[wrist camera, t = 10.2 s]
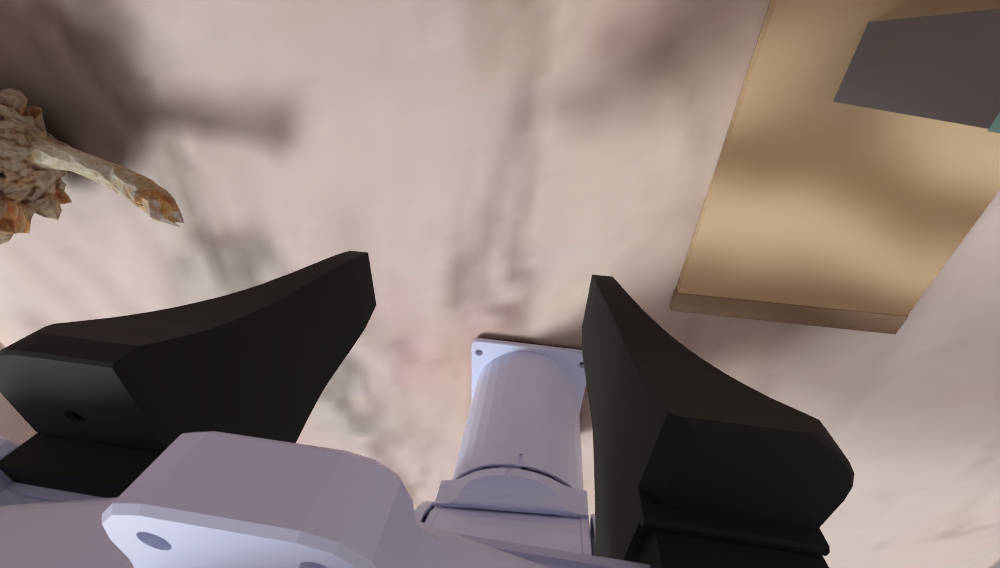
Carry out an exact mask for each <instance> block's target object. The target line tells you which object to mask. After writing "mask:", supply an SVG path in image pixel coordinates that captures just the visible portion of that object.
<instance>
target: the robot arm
mask: <svg viewBox="0 0 1000 568" xmlns="http://www.w3.org/2000/svg"><path fill="white" fill-rule="evenodd" d="M375 306H376V300H375V294H374V288H373V281H372V275H371V269H370V262H369V256H368V253H367V252H357V251H348V252H344V253H341V254H338V255H335V256H333V257H330V258H327V259H325V260H322V261H320V262H317V263H315V264H313V265H310V266H308V267H305V268H303V269H300V270H298V271H295V272H293V273H290V274H288V275H285V276H282V277H280V278H277V279H274V280H272V281H269V282H266V283H264V284H261V285H258V286H255V287H252V288H249V289H246V290H243V291H239V292H236V293H232V294H229V295H225V296H222V297H218V298H214V299H210V300H205V301H201V302H197V303H192V304H188V305H184V306H179V307H174V308H169V309H164V310H158V311H153V312H147V313H140V314H134V315H128V316H120V317H113V318H104V319H95V320H86V321H77V322H68V323H57V324H52V325H49V326H46V327H44V328H42V329H40V330H38V331H36V332H34V333H32V334H30V335H28V336H26V337H25V338H23V339H21V340H19V341H17V342H15V343H13V344H11V345H10V346H8V347H6V348H4V349H2V350H1V351H0V392H1V394H2V395H3V396H4V397H5V398H6V399H7V400H8V401H9V402H10V404H11V405H12V406H13V407H14V408H15V409H16V410H17V411H18V412H19V413H20V415H22V417H23V418H24V419H25V420H26V421H27V422H28V423H29V424H30V425H31V427H33V429H34V430H35V431H36V432H38V433H37V434H36V435H34V436H33V437H31V438H30V439H29V440H27V441H26V442H25V443H23V444H22V445H21V444H19V443H17V442H15V441H14V440H12V439H9V438H5V437H1V436H0V568H829V567H828V565H827V563H826V561H825V559H824V558H823V556H822V555H824V556H827V555H828V554H829V553H830V549H829V545H828V543H827V541H826V539H825V538H824V536H823V534H822V532H821V530H820V529H819V527H820V526H821V525H822V524H823V523H824V522H825V521H826V520H827V519H828V517H829V516H830V515H831V514H832V513H833V512H834V511H835V510H836V509H837V508H838V507H839V505H840V504H841V503H842V502H843V501H844V500H845V498H846V496H847V495H848V493H849V492H850V490H851V488H852V486H853V480H854V472H853V469H852V467H851V465H850V462H849V461H848V459H847V458H846V456H845V455H844V454H843V452H842V451H841V449H840V448H839V447H838V445H837V444H836V442H835V441H834V440H833V438H832V437H831V435H830V434H829V433H828V431H827V430H826V428H825V427H824V426H823V424H822V423H821V422H820V420H818V419H816V418H814V417H812V416H809V415H807V414H805V413H803V412H800V411H798V410H796V409H794V408H792V407H789V406H787V405H785V404H783V403H781V402H778V401H776V400H774V399H772V398H770V397H768V396H766V395H764V394H762V393H760V392H758V391H756V390H754V389H752V388H750V387H748V386H746V385H745V384H743V383H741V382H739V381H737V380H736V379H734V378H732V377H730V376H729V375H727V374H725V373H723V372H722V371H720V370H719V369H717V368H715V367H714V366H712V365H711V364H709V363H708V362H706V361H704V360H703V359H701V358H700V357H698V356H697V355H696V354H694V353H693V352H691V351H690V350H689V349H687V348H686V347H685V346H683V345H682V344H681V343H679V342H678V341H677V340H675V339H674V338H673V337H672V336H671V335H669V334H668V333H667V332H666V331H665V330H664V329H662V328H661V327H660V326H659V325H658V324H657V323H656V322H655V321H654V320H652V319H651V318H650V317H649V316H648V315H647V314H646V313H645V312H644V311H643V310H642V309H641V308H640V307H639V305H638V304H637V303H636V302H635V301H634V300H633V299H632V298H631V297H630V296H629V295H628V293H627V292H626V291H625V290H624V289H623V288H622V287H621V286H620V284H619V283H618V282H617V281H616V280H615V279H614V278H613V277H610V276H600V275H592V278H591V283H590V289H589V294H588V299H587V304H586V310H585V315H584V320H583V325H582V350H577V349H569V348H560V347H552V346H543V345H535V344H526V343H518V342H509V341H501V340H492V339H483V338H476V339H475V340H474V341H473V343H472V404H471V408H470V412H469V416H468V420H467V424H466V428H465V432H464V436H463V440H462V444H461V447H460V451H459V455H458V459H457V463H456V467H455V471H454V475H453V479H452V480H443V481H441V484H440V487H439V491H438V494H437V498H436V502H433V501H425V502H423V503H421V504H420V505H419V506H418V507H417V508H416V509H415V511H414V508H413V501H412V499H411V497H410V495H409V493H408V491H407V490H406V488H405V486H404V484H403V483H402V481H401V479H400V477H399V476H398V475H397V474H395V473H394V472H392V471H391V470H389V469H388V468H387V467H385V466H384V465H382V464H381V463H379V462H378V461H376V460H374V459H371V458H368V457H364V456H361V455H358V454H355V453H352V452H348V451H344V450H337V449H330V448H323V447H317V446H310V445H303V444H297V443H296V441H297V439H298V437H299V435H300V433H301V431H302V429H303V427H304V425H305V423H306V421H307V419H308V417H309V415H310V414H311V412H312V410H313V408H314V406H315V404H316V402H317V401H318V399H319V397H320V395H321V393H322V391H323V390H324V388H325V387H326V385H327V383H328V382H329V380H330V379H331V377H332V376H333V375H334V373H335V372H336V370H337V369H338V367H339V366H340V364H341V363H342V362H343V360H344V359H345V357H346V356H347V354H348V353H349V351H350V350H351V349H352V347H353V346H354V344H355V343H356V341H357V340H358V338H359V337H360V335H361V334H362V332H363V331H364V329H365V327H366V325H367V323H368V321H369V319H370V317H371V315H372V313H373V311H374V308H375ZM477 350H481V351H482V352H479V351H477ZM581 362H583V363H584V364H580V363H581ZM586 383H587V390H588V396H589V403H590V410H591V417H592V427H593V447H594V478H595V514H591V520H590V527H589V519H588V501H587V491H585V490H583V473H582V454H581V436H580V418H579V414H580V409H581V405H582V400H583V396H584V391H585V387H586Z"/></svg>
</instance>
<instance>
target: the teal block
mask: <svg viewBox="0 0 1000 568" xmlns="http://www.w3.org/2000/svg"><path fill="white" fill-rule="evenodd" d="M833 102H837V103H843V104H849V105H855V106H860V107H866V108H872V109H877V110H883V111H889V112H895V113H900V114H906V115H912V116H917V117H923V118H929V119H935V120H940V121H946V122H952V123H957V124H963V125H969V126H974V127H980V128H986V129H988V131H989V132H995V133H1000V9H991V10H981V11H971V12H961V13H952V14H942V15H932V16H922V17H913V18H903V19H893V20H883V21H874V22H868V24H867V26H866V29H865V31H864V33H863V35H862V38H861V40H860V42H859V44H858V47H857V49H856V51H855V53H854V55H853V58H852V60H851V62H850V64H849V67H848V69H847V71H846V73H845V76H844V78H843V80H842V82H841V84H840V87H839V89H838V91H837V93H836V96H835V98H834V100H833Z"/></svg>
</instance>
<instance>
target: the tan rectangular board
mask: <svg viewBox="0 0 1000 568" xmlns="http://www.w3.org/2000/svg"><path fill="white" fill-rule="evenodd" d="M991 9H1000V0H771V3H770V6H769V9H768V12H767V15H766V18H765V21H764V24H763V27H762V30H761V33H760V36H759V39H758V42H757V45H756V48H755V51H754V54H753V57H752V60H751V63H750V66H749V69H748V72H747V75H746V78H745V81H744V84H743V87H742V90H741V93H740V96H739V99H738V103H737V106H736V109H735V112H734V115H733V118H732V121H731V124H730V127H729V130H728V133H727V136H726V139H725V142H724V145H723V148H722V151H721V154H720V157H719V160H718V163H717V166H716V169H715V172H714V175H713V178H712V181H711V184H710V187H709V190H708V193H707V196H706V199H705V202H704V206H703V209H702V212H701V215H700V218H699V221H698V224H697V227H696V230H695V233H694V236H693V239H692V242H691V245H690V248H689V251H688V254H687V257H686V260H685V263H684V266H683V269H682V272H681V275H680V278H679V281H678V284H677V287H676V289H675V291H674V294H673V297H672V300H671V303H670V308H671V310H672V311H680V312H689V313H699V314H708V315H718V316H727V317H737V318H746V319H756V320H765V321H775V322H784V323H794V324H803V325H813V326H822V327H832V328H841V329H851V330H860V331H870V332H879V333H889V334H896V333H897V331H898V330H899V329H900V327H901V326H902V324H903V323H904V322H905V320H906V319H907V318H908V316H907V315H908V314H909V312H910V311H911V310H912V308H913V307H914V306H915V304H916V303H917V301H918V300H919V299H920V297H921V296H922V295H923V293H924V292H925V291H926V289H927V288H928V286H929V285H930V284H931V282H932V281H933V280H934V278H935V277H936V276H937V274H938V273H939V271H940V270H941V269H942V267H943V266H944V265H945V263H946V262H947V261H948V259H949V258H950V256H951V255H952V254H953V252H954V251H955V250H956V248H957V247H958V246H959V244H960V243H961V241H962V240H963V239H964V237H965V236H966V235H967V233H968V232H969V231H970V229H971V228H972V226H973V225H974V224H975V222H976V221H977V220H978V218H979V217H980V216H981V214H982V213H983V212H984V210H985V209H986V207H987V206H988V205H989V203H990V202H991V201H992V199H993V198H994V197H995V195H996V194H997V192H998V191H999V190H1000V133H995V132H989V131H988V129H986V128H980V127H974V126H969V125H963V124H957V123H952V122H946V121H940V120H935V119H929V118H923V117H917V116H912V115H906V114H900V113H895V112H889V111H883V110H877V109H872V108H866V107H860V106H855V105H849V104H843V103H837V102H833V100H834V98H835V96H836V93H837V91H838V89H839V87H840V84H841V82H842V80H843V78H844V76H845V73H846V71H847V69H848V67H849V64H850V62H851V60H852V58H853V55H854V53H855V51H856V49H857V47H858V44H859V42H860V40H861V38H862V35H863V33H864V31H865V29H866V26H867V24H868V22H874V21H883V20H893V19H903V18H913V17H922V16H932V15H942V14H952V13H961V12H971V11H981V10H991Z"/></svg>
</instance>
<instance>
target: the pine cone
mask: <svg viewBox="0 0 1000 568" xmlns="http://www.w3.org/2000/svg"><path fill="white" fill-rule="evenodd" d="M27 102H28V99H27V98H26V97H25V96H24V94H23V93H22V92H20V91H18V90H17V89H15V88H11V89H4V90H2V91H0V244H2V243H5V242H7V241H9V240H10V239H11V237H12V236H13V234H15V233H30V224H31V218H32V216H33V214H34V213H37V214H39V215H41V216H44V217H47V218H52V219H56V220H58V219H59V216H60V213H61V211H62V210H61V207H60V204H65V203H70V202H72V201H71V200H70V198H69V196H68V195H67V194H66V193H65V191H64V189H65V185H66V184H65V183H64V182H63V181H62V180H61V177H63V176H64V175H66V174H68V171H72V172H75V173H77V174H79V175H82V176H84V177H86V178H88V179H90V180H93V181H96V182H99V183H100V184H102V185H104V186H106V187H109V188H111V189H113V190H114V191H115V192H117V193H118V194H120V195H122V196H124V197H125V198H127V199H128V200H129V201H130V202H131V203H132V204H134V205H135V206H136V207H138V208H139V209H141V210H143V211H144V212H146V213H147V214H149V216H150V217H151V218H152V219H153V220H154V221H159V222H165V223H168V224H172V225H175V226H179V225H177V224H176V223H175V222H182V223H184V221H183V218H182V214H181V212H180V210H179V208H178V206H177V204H176V201H175V199H174V198H173V197H172V196H171V195H170V194H169V192H168V191H167V190H165V189H163V188H162V187H160V186H158V185H157V184H156V183H155V182H154V181H152V180H151V179H149V178H147V177H145V176H143V175H140V174H138V173H136V172H134V171H132V170H129V169H127V168H125V167H123V166H120V165H117V164H115V163H112V162H109V161H106V160H104V159H102V158H100V157H97V156H94V155H90V154H87V153H84V152H82V151H79V150H77V149H74V148H72V147H70V146H71V145H70V144H67V143H64V142H61V141H58V140H56V139H55V138H54V137H53V136H52V135H51V134H50V133H47V131H46V127H45V124H44V120H43V114H42V109H41V107H36V106H26V105H27ZM179 227H180V226H179Z"/></svg>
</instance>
